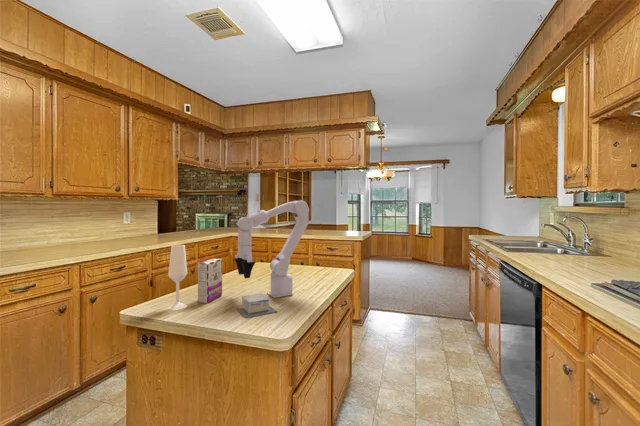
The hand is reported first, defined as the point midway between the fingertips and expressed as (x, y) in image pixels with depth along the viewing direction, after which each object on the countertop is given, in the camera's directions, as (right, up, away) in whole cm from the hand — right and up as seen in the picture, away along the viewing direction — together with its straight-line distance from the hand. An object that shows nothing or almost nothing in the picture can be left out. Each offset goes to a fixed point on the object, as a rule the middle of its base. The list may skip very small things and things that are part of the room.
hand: (244, 276), depth 128 cm
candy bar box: (-14, -9, -3) cm, 17 cm away
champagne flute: (-23, -9, -13) cm, 28 cm away
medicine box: (+6, -7, -11) cm, 14 cm away
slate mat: (+9, -10, -16) cm, 21 cm away
